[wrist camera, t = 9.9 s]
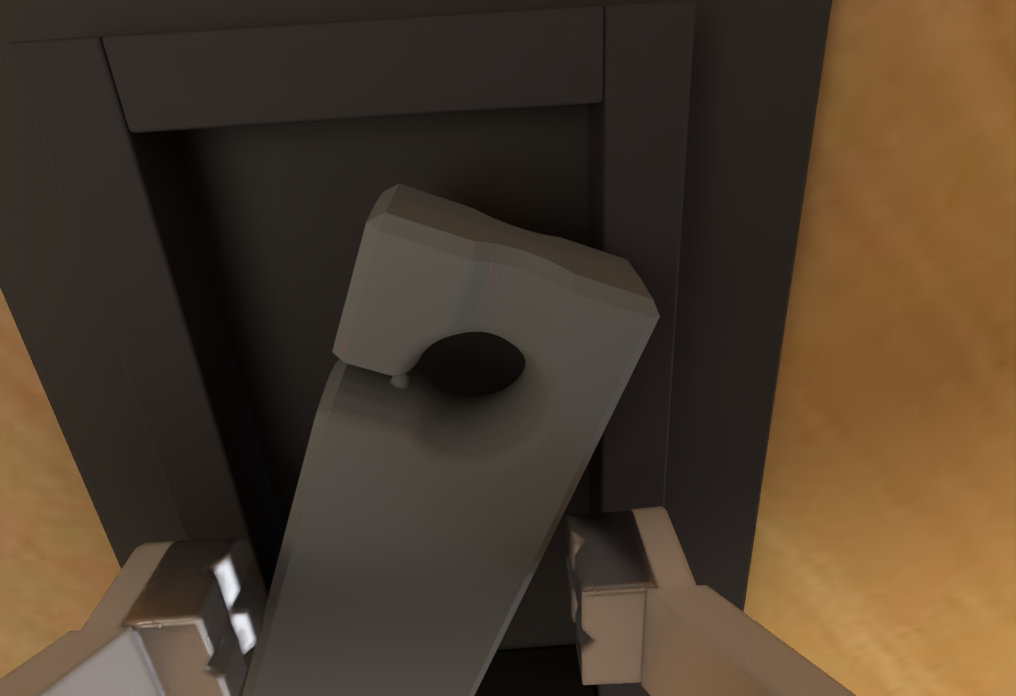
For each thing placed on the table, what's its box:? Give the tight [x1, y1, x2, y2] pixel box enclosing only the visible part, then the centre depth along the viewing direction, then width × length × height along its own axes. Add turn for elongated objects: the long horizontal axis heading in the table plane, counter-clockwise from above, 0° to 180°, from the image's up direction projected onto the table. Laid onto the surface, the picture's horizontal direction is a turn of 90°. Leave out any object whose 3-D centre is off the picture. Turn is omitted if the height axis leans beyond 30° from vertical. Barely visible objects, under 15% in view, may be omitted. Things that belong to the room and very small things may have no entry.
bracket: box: [242, 183, 660, 696], centre depth 11 cm, size 4×10×2 cm, turn 161°
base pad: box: [0, 0, 832, 696], centre depth 13 cm, size 20×14×2 cm
